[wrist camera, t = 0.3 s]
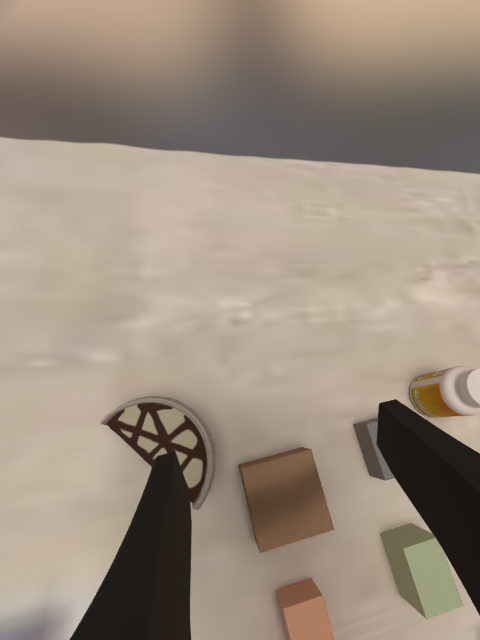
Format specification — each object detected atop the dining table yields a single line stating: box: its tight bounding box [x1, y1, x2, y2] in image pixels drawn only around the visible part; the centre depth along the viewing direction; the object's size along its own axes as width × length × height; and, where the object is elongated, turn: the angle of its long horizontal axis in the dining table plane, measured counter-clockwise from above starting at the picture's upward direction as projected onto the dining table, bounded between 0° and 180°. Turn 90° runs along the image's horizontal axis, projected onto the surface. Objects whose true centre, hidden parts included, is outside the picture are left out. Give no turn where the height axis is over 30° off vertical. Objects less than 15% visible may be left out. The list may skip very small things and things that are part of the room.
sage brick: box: [380, 523, 463, 619], centre depth 35 cm, size 6×4×5 cm, turn 14°
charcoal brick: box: [353, 418, 395, 480], centre depth 39 cm, size 6×4×4 cm, turn 13°
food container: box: [100, 396, 215, 510], centre depth 35 cm, size 12×6×10 cm, turn 51°
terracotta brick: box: [277, 578, 334, 640], centre depth 33 cm, size 6×4×4 cm, turn 14°
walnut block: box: [239, 447, 334, 553], centre depth 37 cm, size 8×8×4 cm
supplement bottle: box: [410, 367, 480, 417], centre depth 39 cm, size 5×5×10 cm
